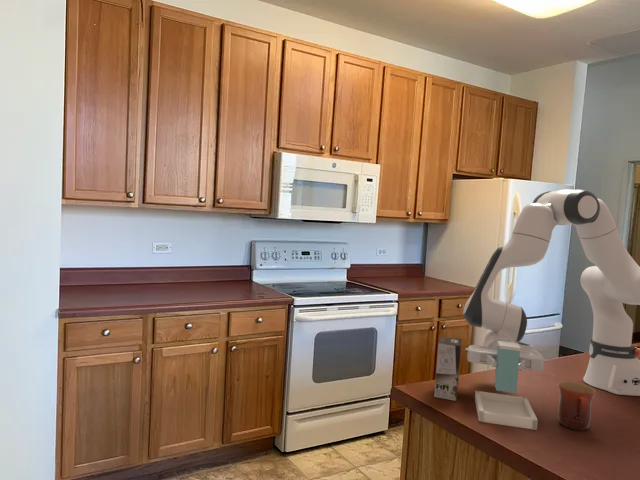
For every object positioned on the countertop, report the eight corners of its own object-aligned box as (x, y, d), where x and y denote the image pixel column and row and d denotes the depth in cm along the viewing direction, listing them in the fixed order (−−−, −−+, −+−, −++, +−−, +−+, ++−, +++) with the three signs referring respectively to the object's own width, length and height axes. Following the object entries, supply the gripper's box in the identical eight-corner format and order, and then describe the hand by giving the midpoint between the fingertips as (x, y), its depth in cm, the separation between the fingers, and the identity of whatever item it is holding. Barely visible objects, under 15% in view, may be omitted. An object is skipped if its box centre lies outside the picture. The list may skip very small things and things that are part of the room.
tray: (526, 406, 138) (527, 397, 138) (536, 430, 123) (537, 420, 123) (474, 399, 142) (475, 390, 141) (478, 421, 126) (479, 411, 126)
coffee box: (456, 401, 139) (460, 345, 138) (433, 397, 141) (437, 342, 140) (458, 390, 148) (462, 338, 147) (436, 387, 150) (440, 335, 149)
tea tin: (513, 386, 134) (517, 343, 133) (516, 393, 129) (520, 348, 128) (493, 384, 135) (497, 340, 134) (495, 390, 130) (499, 345, 129)
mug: (550, 416, 132) (553, 379, 131) (585, 421, 130) (589, 383, 130) (563, 436, 120) (567, 395, 120) (602, 441, 118) (606, 400, 118)
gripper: (465, 337, 146) (468, 349, 133) (538, 346, 141) (549, 359, 128) (463, 358, 147) (466, 372, 133) (537, 367, 142) (547, 382, 128)
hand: (507, 365), depth 130 cm, fingers closed on tea tin, 5 cm apart
